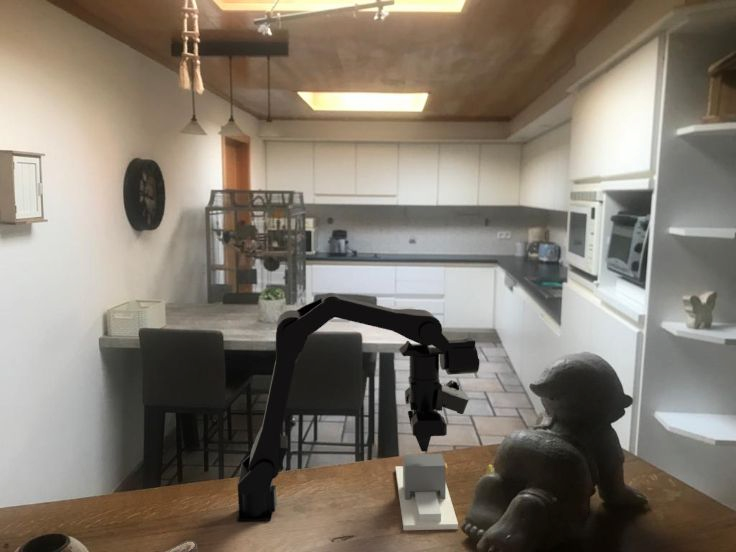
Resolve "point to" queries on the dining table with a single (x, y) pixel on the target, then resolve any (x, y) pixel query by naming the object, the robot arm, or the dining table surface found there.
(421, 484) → the din module
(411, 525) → the rail plate
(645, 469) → the dining table surface
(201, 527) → the dining table surface
